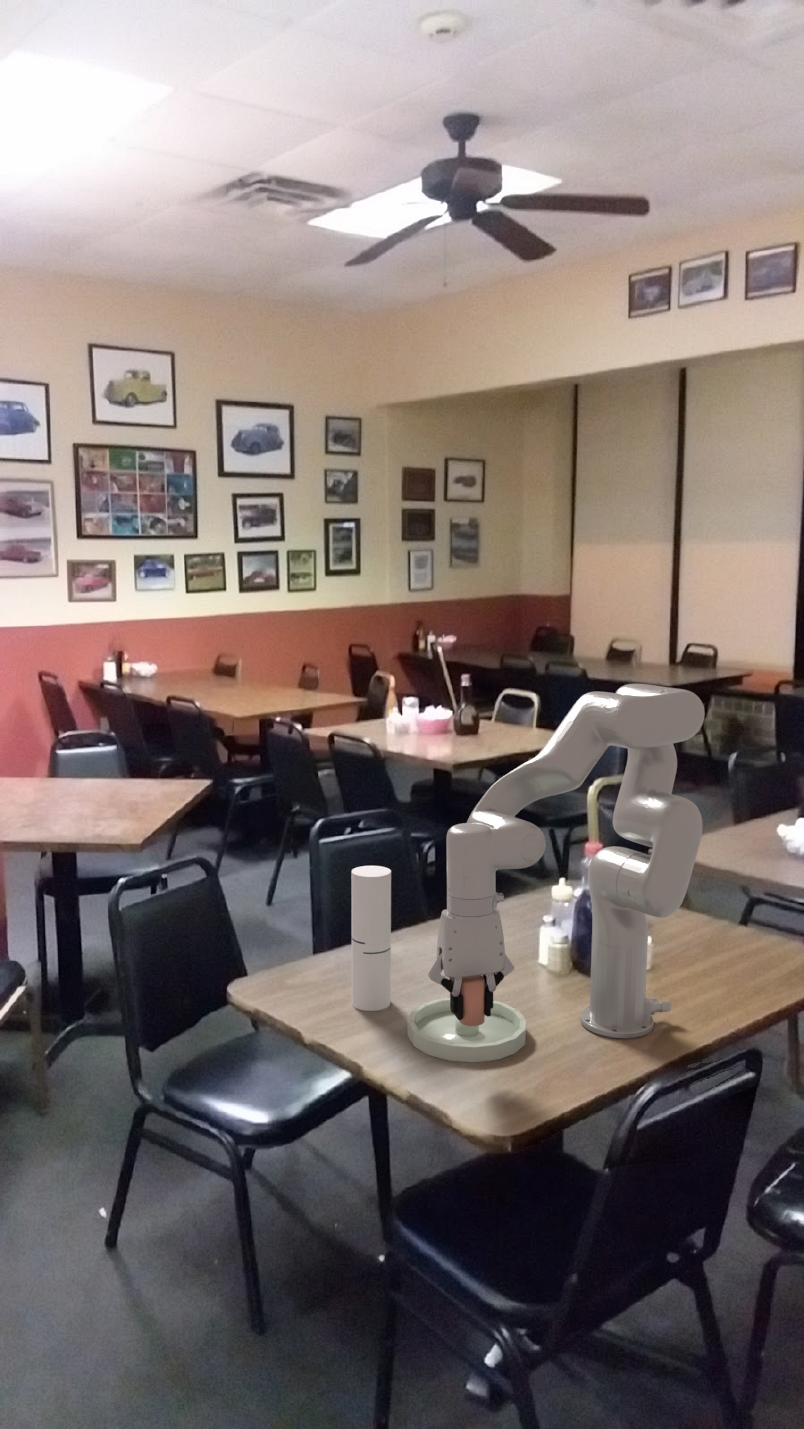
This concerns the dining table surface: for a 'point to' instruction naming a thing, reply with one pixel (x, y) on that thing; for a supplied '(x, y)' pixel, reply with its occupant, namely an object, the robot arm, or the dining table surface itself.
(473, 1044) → the groove tray
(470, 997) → the orange cylinder
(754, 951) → the dining table surface
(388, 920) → the cylindrical container
